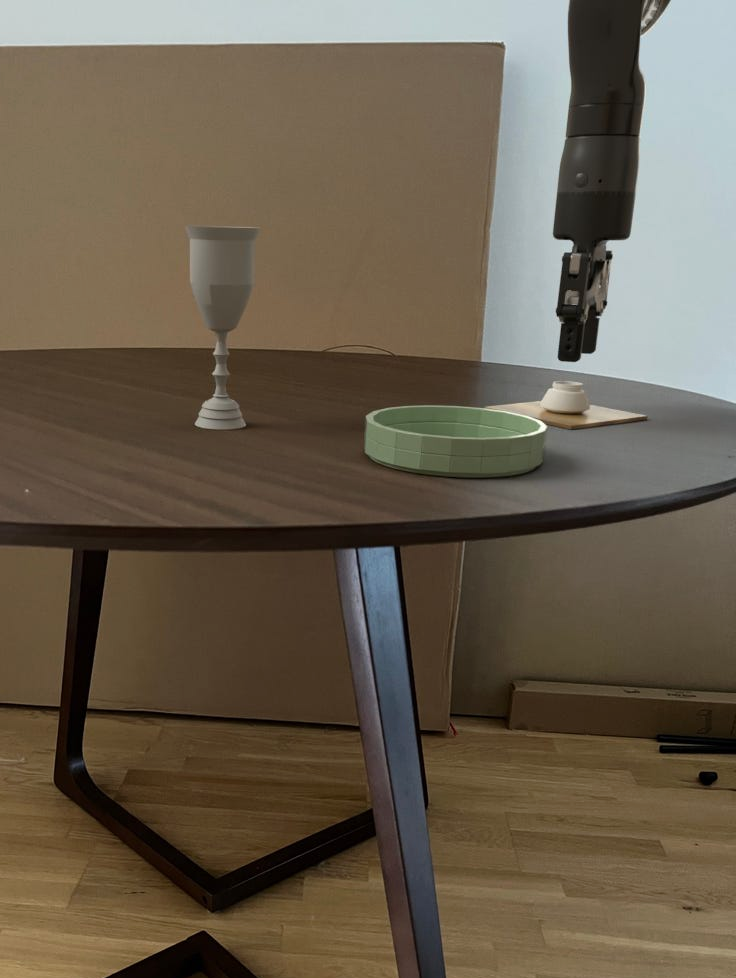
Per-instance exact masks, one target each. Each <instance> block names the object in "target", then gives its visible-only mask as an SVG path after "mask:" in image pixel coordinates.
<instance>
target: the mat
mask: <svg viewBox="0 0 736 978" xmlns="http://www.w3.org/2000/svg"><path fill="white" fill-rule="evenodd" d="M541 401H542V400H536V401H526V402H518V403H507V404H498V405H490V406H489V405H488V406H484V409H491V410H499V411H506V412H511V413H516V414H520V415H525V416H529V417H531V418H534V419H537V420H540V421H542V422H543V423H544V424H545V425H549V426H552V427H553V426H554V427H558V428H562V429H567V430H578V429H584V428H585V429H586V428H594V427H603V426H608V425H615V424H625V423H633V422H640V421H646V420H648V419H649V418H648V417H649V416H648V415H645V414H640V413H635V412H630V411H624V410H619V409H615V408H610V407H604V406H599V405H594V404H589V405H590V409H589V410H587V411H584V412H582V413H577V414H562V413H555V412H551V411H548V410H545V409H544V408H542V407H541V405H540V404H541Z"/></svg>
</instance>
